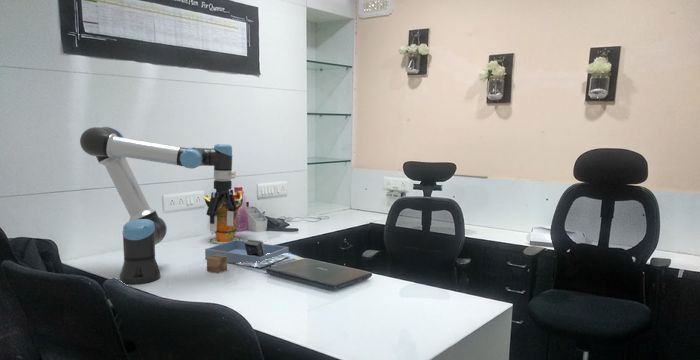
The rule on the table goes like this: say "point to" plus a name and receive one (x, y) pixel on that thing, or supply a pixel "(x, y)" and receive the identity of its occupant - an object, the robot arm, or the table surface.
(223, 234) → the decorative vase
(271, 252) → the tray
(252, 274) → the table surface
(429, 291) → the table surface
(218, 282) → the table surface
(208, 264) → the walnut cube
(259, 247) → the electrical switch
